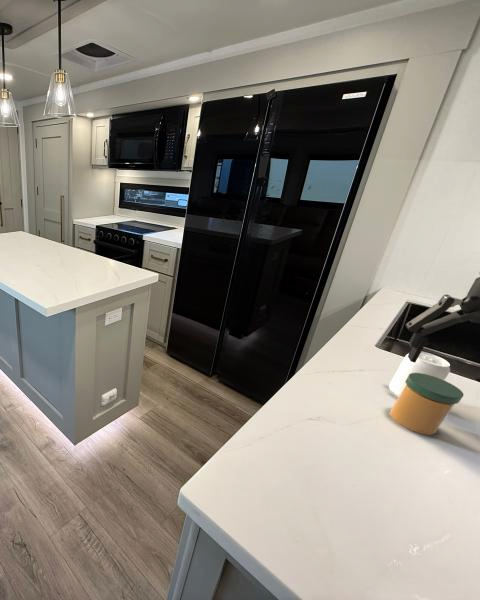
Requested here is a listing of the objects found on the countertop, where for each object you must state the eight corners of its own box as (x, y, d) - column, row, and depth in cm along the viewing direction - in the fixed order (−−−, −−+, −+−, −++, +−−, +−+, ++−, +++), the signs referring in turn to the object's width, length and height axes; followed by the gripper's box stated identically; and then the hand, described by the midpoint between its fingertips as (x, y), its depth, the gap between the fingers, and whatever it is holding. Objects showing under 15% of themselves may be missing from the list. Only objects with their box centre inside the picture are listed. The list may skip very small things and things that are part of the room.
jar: (429, 419, 76) (451, 384, 72) (440, 440, 70) (466, 404, 66) (386, 405, 80) (405, 372, 76) (393, 424, 74) (414, 389, 69)
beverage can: (426, 410, 79) (450, 371, 74) (384, 392, 85) (405, 355, 80) (431, 398, 83) (455, 361, 78) (391, 381, 89) (411, 346, 84)
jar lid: (409, 393, 70) (413, 386, 69) (400, 374, 77) (404, 368, 76) (466, 410, 65) (470, 403, 65) (451, 388, 72) (455, 382, 71)
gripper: (425, 273, 65) (383, 358, 73) (629, 302, 52) (550, 400, 61) (414, 265, 70) (376, 345, 79) (596, 289, 58) (528, 381, 67)
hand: (452, 369), depth 70 cm, fingers open, 13 cm apart
